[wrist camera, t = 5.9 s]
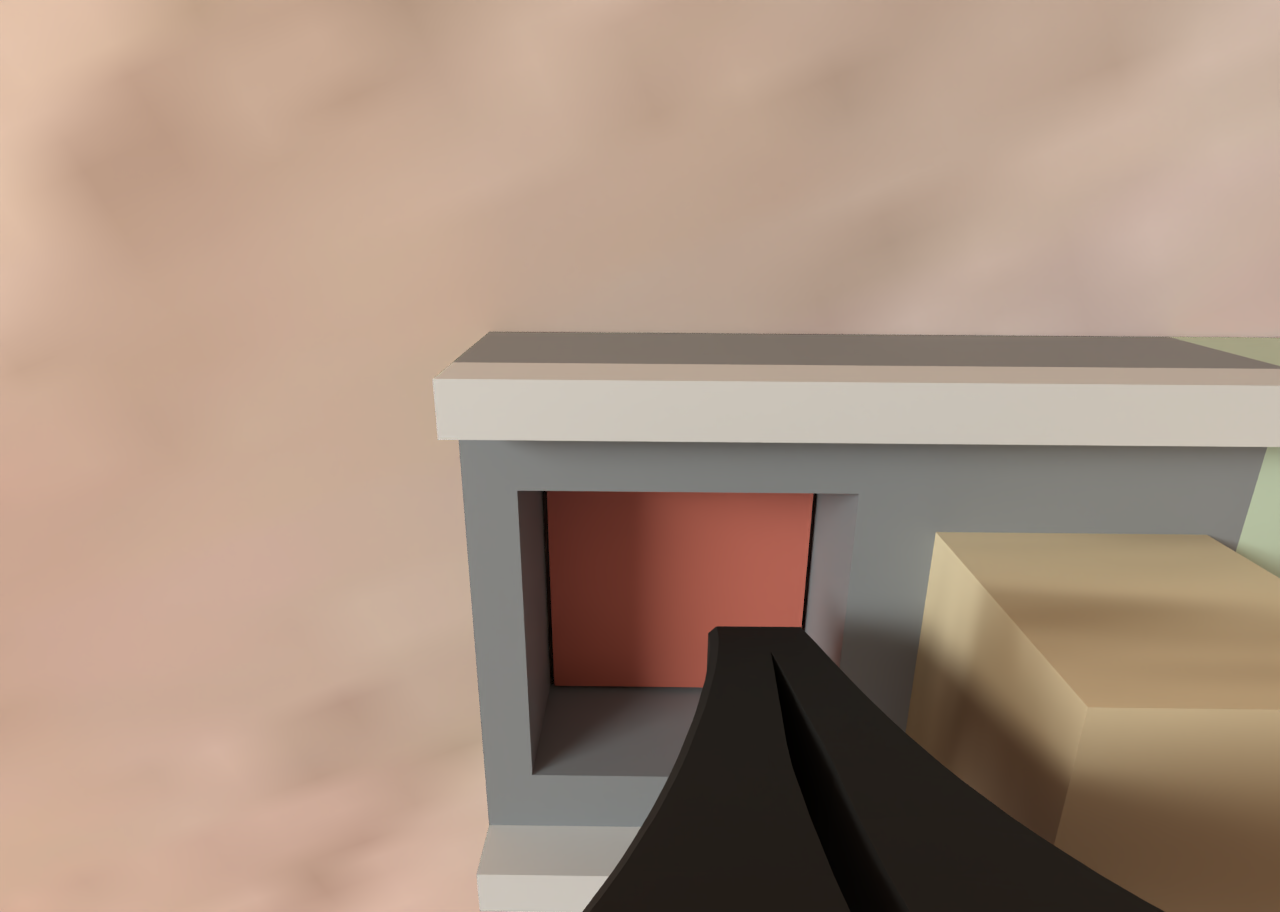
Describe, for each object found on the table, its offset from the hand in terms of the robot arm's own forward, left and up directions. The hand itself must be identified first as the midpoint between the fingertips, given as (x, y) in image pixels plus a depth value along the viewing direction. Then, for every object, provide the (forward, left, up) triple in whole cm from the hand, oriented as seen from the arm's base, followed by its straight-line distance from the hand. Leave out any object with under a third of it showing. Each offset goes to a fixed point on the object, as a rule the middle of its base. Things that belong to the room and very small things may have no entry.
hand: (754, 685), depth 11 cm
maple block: (0, -5, -1) cm, 5 cm away
